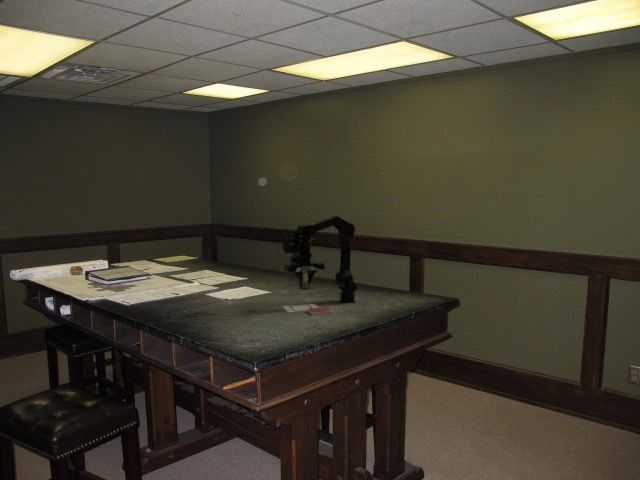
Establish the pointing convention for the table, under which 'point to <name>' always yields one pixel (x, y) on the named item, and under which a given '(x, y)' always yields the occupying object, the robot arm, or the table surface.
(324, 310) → the ink pad
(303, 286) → the stamp
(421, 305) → the table surface
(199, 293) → the table surface
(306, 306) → the paper
